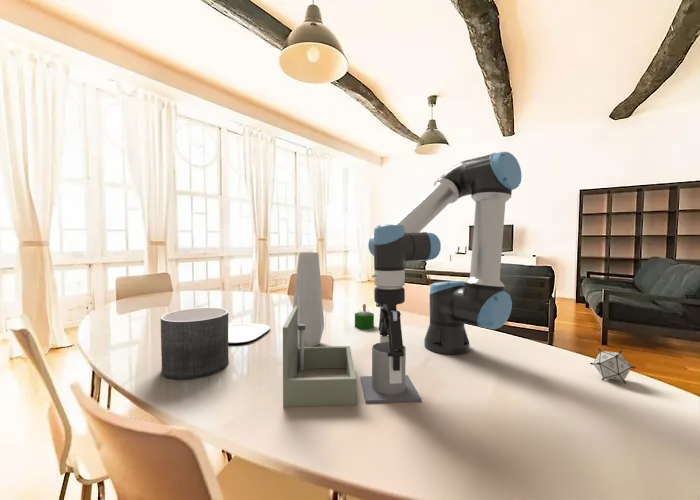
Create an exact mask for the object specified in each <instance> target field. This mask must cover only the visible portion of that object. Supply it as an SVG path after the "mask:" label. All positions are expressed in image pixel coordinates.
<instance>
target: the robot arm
mask: <svg viewBox="0 0 700 500" xmlns="http://www.w3.org/2000/svg"><path fill="white" fill-rule="evenodd" d="M518 161H519V160H518V159H517V158H516V157H515V155H514V154H512V153H511V152H508V151H500V152H493V153H490V154H488V155H483V156H479V157H475V158H470V159H466V160H463V161H461V162H459V163H458V164H456V165H454V166H453V167H451V168H450V169H448V170H447V171H446V172H444V173H443V174H442V175H441V176H440V177H439V178H438V179H436V181H434V183H433V187H432V188H431V189H430V190H429V191H428V192H427V193H426V194H425V195H423V196H422V197H421V198H420V199H419V200H418V201H417V202H415V203H414V204H413V205H412V206H411V207H409V209H408V210H407V211H405V213H403V214H402V215H401V216H400V217H399V218H398V219H397V220H396V221H394V223H393V224H378V225H376V226H375V227H374V230H373V235H371V237H370V238H369V240H368V244H367V245H368V251H369V253H370V254H371V256H373V267H374V268H373V269H374V270H373V271H374V273H372V274H371V277H372V278H374V286H375V287H374V290H373V293H374V299H373V300H374V302H375V303H376V304H378V305H380V307H379V308H380V309H379V321H378V331H379V335H380V336H379V343H381V342H389V346H390V353H388V354H387V356H388V357H389V382H390V384H395V383H402V356H404V350H403V346H404V341H403V332H402V323H401V320H402V319H401V315H402V314H401V311H400V310H397V306H398V305H401V304H402V305H403V304H404V303H405V301H406V300H405V299H406V296H405V294H406V293H405V291H406V290H405V287H404V286H405V285H406V277H405V276H406V275H405V273H406V270H405V263H407V262H423V261H425V262H428V261H429V260H430V261H431V260H434V259H436V258H437V257H438V256H439V255H440V252H441V250H442V249H441V241H440V240H441V239H439V237H438V235H436V234H435V233H433V232H426V231H423V232H422V230H423V229H424V228H425V227H427V226H428V225H429V224H430V223H431V222H432V221H433V220H434V219H435V218H436V217H437V216H438V215H439V214H440V213H441V212H442V211H443V210H444V209H445V208H446V207H447V206H448V205H449V204H453V203H456V202H457V201H458V200H459V199H460V198H463V197H466V196H470V195H471V197H470V198H472V200H473V201H474V202H475V207H474V208H475V209H474V222H473V235H472V244H471V245H472V248H471V257H470V258H471V259H470V271H469V272H470V273H469V277H468V278H467V279H465V280H464V281H462V280H453V281H438V282H434V283H432V284H431V285H430V288H429V289H430V290H429V326H428V328H427V331H426V333H425V336H424V339H423V341H424V347H425V348H426V349H427V350H429V351H432V352H434V353H438V354H444V355H462V354H466V353H468V352H469V351H470V347H471V346H470V344H471V343H470V341H469V337H468V334H467V331H466V327H465V324H469V325H474V326H477V327H480V328H482V329H488V330H497V329H499V328H502V327H503V326H504V325H505V324H506V322H507V321H508V319H509V318H510V315H511V313H512V306H513V301H512V298H511V295H510V294H509V293H507V292H506V291H505V284H504V283H503V282H502V280H501V278H500V277H501V265H502V253H503V239H504V238H503V237H504V225H505V212H506V203H507V201H509V200H511V198H512V191H513V190H516V189H518V187H519V186H520V184H521V183H522V169H521V166H520V163H519V162H518ZM395 350H398V351H395Z"/></svg>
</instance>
